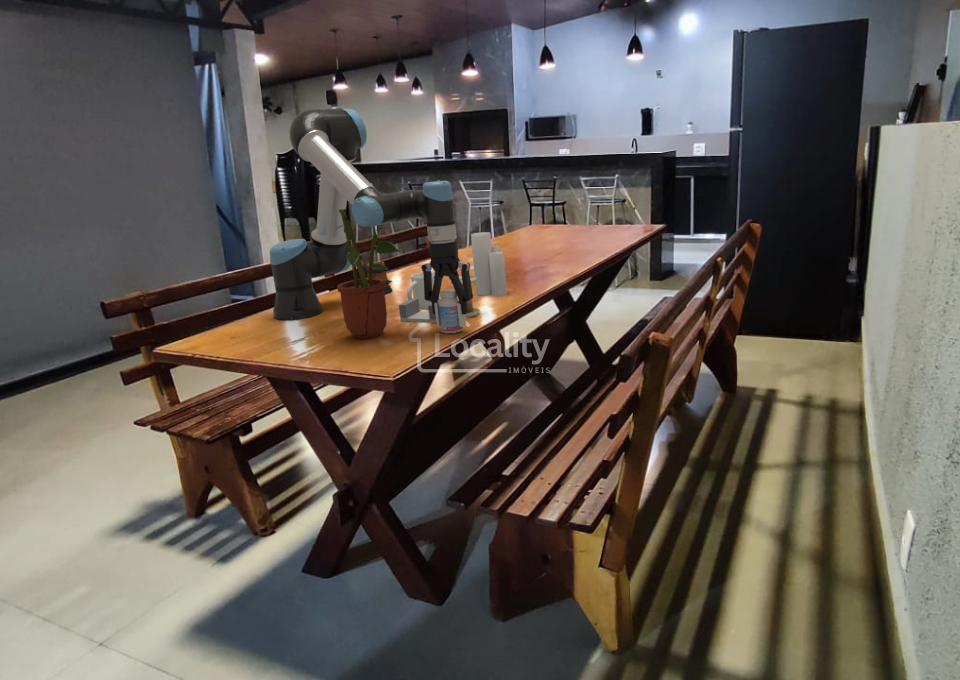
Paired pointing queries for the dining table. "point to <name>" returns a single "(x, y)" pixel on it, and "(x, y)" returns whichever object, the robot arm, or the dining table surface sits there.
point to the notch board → (415, 312)
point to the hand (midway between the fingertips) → (451, 325)
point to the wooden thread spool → (470, 308)
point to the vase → (488, 266)
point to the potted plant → (364, 289)
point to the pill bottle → (449, 312)
